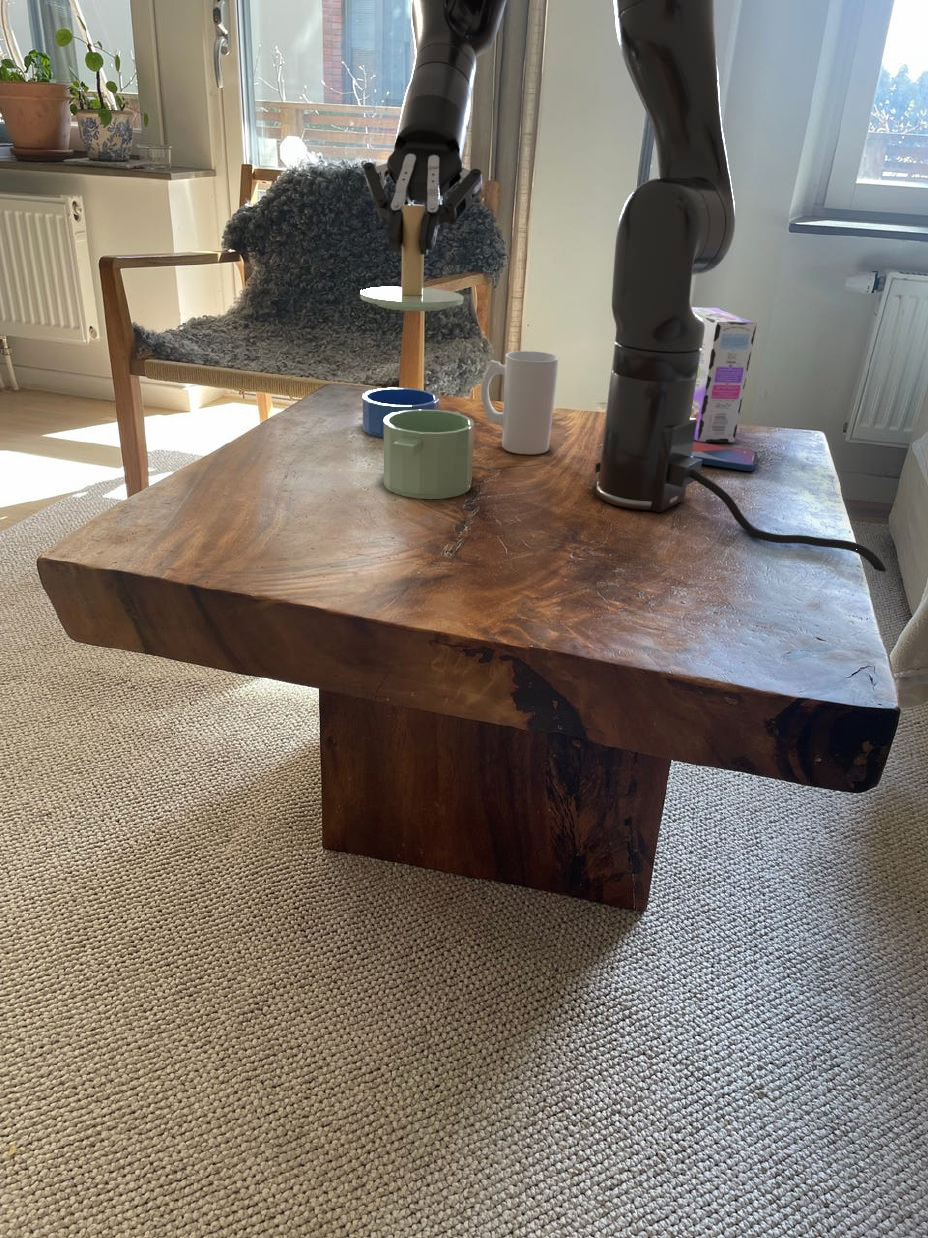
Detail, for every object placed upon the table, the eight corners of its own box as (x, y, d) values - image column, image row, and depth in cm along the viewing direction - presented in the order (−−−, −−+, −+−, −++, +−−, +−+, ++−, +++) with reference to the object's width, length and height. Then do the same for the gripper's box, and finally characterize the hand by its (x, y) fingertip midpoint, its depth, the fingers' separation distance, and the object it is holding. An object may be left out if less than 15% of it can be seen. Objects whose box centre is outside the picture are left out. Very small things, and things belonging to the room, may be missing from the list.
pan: (452, 429, 125) (453, 397, 123) (402, 444, 118) (403, 410, 116) (398, 415, 131) (398, 384, 129) (347, 428, 123) (346, 395, 121)
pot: (488, 471, 109) (492, 410, 106) (445, 512, 96) (448, 444, 93) (411, 459, 112) (412, 400, 108) (359, 498, 99) (358, 432, 95)
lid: (478, 304, 102) (484, 206, 97) (435, 317, 92) (439, 210, 88) (391, 294, 106) (392, 199, 101) (341, 305, 96) (339, 202, 91)
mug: (556, 445, 120) (565, 354, 115) (542, 458, 115) (550, 363, 109) (487, 434, 123) (491, 346, 118) (469, 447, 118) (474, 354, 112)
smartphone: (753, 473, 113) (755, 465, 113) (636, 455, 117) (637, 447, 116) (755, 458, 119) (757, 450, 119) (644, 441, 123) (645, 433, 123)
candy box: (736, 443, 125) (759, 322, 117) (696, 443, 124) (717, 321, 116) (700, 417, 137) (718, 305, 129) (663, 417, 136) (680, 304, 128)
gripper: (367, 88, 97) (338, 218, 91) (494, 94, 95) (471, 226, 90) (379, 144, 104) (352, 267, 99) (497, 151, 102) (476, 276, 97)
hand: (409, 247), depth 94 cm, fingers closed on lid, 2 cm apart
